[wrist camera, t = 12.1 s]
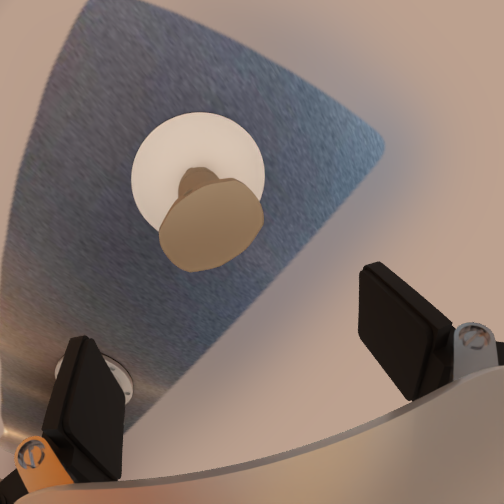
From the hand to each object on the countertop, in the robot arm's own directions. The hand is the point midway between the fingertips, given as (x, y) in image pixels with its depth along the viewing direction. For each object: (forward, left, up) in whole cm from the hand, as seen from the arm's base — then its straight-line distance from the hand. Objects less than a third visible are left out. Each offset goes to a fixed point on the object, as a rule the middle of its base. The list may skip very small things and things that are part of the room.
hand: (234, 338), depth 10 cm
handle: (0, 0, -25) cm, 25 cm away
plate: (0, 0, -26) cm, 26 cm away
